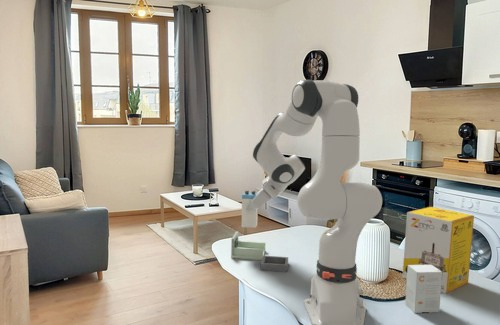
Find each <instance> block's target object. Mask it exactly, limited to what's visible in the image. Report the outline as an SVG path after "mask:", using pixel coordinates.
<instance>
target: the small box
mask: <svg viewBox="0 0 500 325" xmlns="http://www.w3.org/2000/svg"><path fill="white" fill-rule="evenodd" d="M441 281H442V271H440V270H439V269H437V268H436V267H434V266H433V265H408V269H407V279H406V286H405V287H406V288H405V300H404V301H405V303H404V304H405V306H406V307H408V308H409V309H410V310H411V311H412V312H413V313H414V314H420V313H422V312H429V313H440V304H441V296H442V295H441V294H442V292H441Z"/></svg>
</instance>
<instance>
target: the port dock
mask: <svg viewBox="0 0 500 325" xmlns="http://www.w3.org/2000/svg"><path fill="white" fill-rule="evenodd" d="M230 245H231V250H230V252H231V253H230V258H232V259H241V260H242V259H243V260H253V261H254V260H257V261H262V258H263V256H265V253H266V242H265V241H250V240H239V231H238V230H237V231H235V232H234V234H233V236H232V238H231V244H230Z"/></svg>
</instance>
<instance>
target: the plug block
mask: <svg viewBox="0 0 500 325" xmlns="http://www.w3.org/2000/svg"><path fill="white" fill-rule="evenodd" d="M257 194H258V193H257V192H256V191H255V190H252V191H251V192H250V191H249V190H244V192H243V193H242V194H241V228H250V229H251V228H254V229H256V228H257V226H258V213H259V212H258V210H259V208H258V209H256V208H253V209H252V210H251V211H249V212H248V211H247V210H246V208H247V207H248V206H249V205H250V204H251V202H252V200H253V199H254V197H256V196H257Z"/></svg>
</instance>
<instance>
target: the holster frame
mask: <svg viewBox="0 0 500 325" xmlns="http://www.w3.org/2000/svg"><path fill="white" fill-rule="evenodd" d="M288 265H289V257H288V256H275V255H264V256H263V258H262V260H261V262H260V271H271V272H272V271H273V272H285V273H286V272H288V267H289V266H288Z"/></svg>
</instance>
